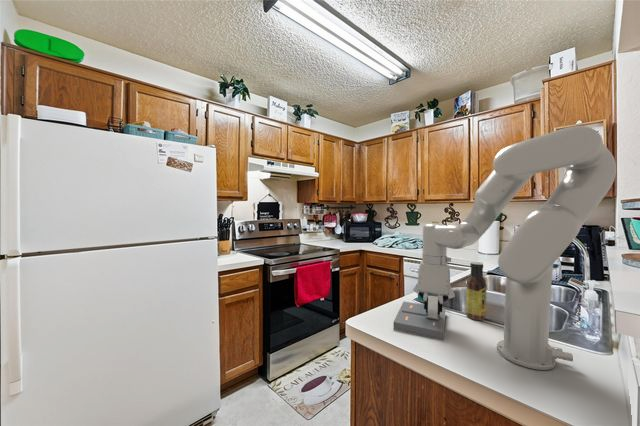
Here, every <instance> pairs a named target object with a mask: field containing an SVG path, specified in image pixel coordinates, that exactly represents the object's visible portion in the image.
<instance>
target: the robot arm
mask: <svg viewBox="0 0 640 426" xmlns="http://www.w3.org/2000/svg"><path fill="white" fill-rule="evenodd" d="M616 164H617V163H616V159H615V157H614V155H613V153H612V152H611V150H609V148H608V147H607V146H606V145H605V144H604V140H603V138H602V135H601V134H600V133H599V132H598V130H596V129H595V128H592V127H590V126H584V125H575V126H568V127H565V128H561V129H557V130H554V131H551V132H548V133H546V134H545V133H544V134H542V135H538V136H536V137H532V138H529V139H526V140H523V141H519V142H516V143H513V144H509V145H508V146H506V147H504V148H502V149H500V150H499V151H498V152H497V153H496V155H495V156H494V158H493V161H492V167H493V170H492V171H491V173H490V174H489V175H488V176H487V178H485V180H484V181H483V182H482V183H481V185H480V186H479V188H477V190H476V191H475V193H474V202H473V205H472V208H471V210H469V213H468V214H467V215H466V217H464V219H463V220H462V221H461V222H460V223H458V224H452V225H451V224H450V225H445V224H443V223H437V222H436V223H433V222H431V223H425V224H424V225H423V227H422V256H421V258H422V259H421V261H420V262H419V265H420V266H419V265H418V269H419V273H418V272H417V283H416V284H415V285H414V287H413V289H412V291H413V292H414V293H415V294H417V295H418V294H419V295H420V296H421V297H422V299H423V300H424V303H423V305H424V309H426V313H428V293H433V294H438V315H440V312H442V308H443V303H445V302H446V301H448V300H449V299H452V298H453V299H454V298H455V297H456V294H455V292H454V290H453V289H452V287H451V272H450V271H451V270H450V265H449V264H448V263H449V262H450V263H452V257H449V256H448V255H447V251H448V250H447V249H453V250H460V249H463V248H466V247H469V246H473V245H475V243H477V241H479V239H481V238H482V236H483V235H484V234H486V232H487V231H488V230H489V229H490V227H491V226H492V225H493V223H494V222H495V221H496V220H497V218H498V217H499V215H501V213H502V212H503V210H504V209H505V208H506V206H507V205H508V204H509V203H510V201H512V199H514V197H515V196H516V195H517V194H518V193H519V192H520V191H521V189H522V188H523V187H524V186H525V185H526V184H527V183H528V182H529V181H530V180H531V179H532V178H533V176H534V175H535V174H538V173H544V172H548V171H553V170H557V169H561V168H565V174H564V176H563V178H562V180H561V181H560V182H559V183H558V184H557V186H556V187H555V189H554V190H553V192H552V193H551V195H550V196H549V198H548V199H547V200H546V201H545V202H544V204H543V205H542V206H541V207H539V208H536V209H535V210H532V211H531V212H530V213H529V214H528V215H526V217H525V218H524V220H523V221H521V223H520V225H519V226H518V227H517V229H516V230H515V231H514V233H513V234H512V236H511V237H510V239H509V240H508V241H507V242H506V244H505V245H504V247H503V249H502V250H501V252H499V253H500V254H499V256H498V261H497V263H498V269H499V270H500V272H501V273H502V275H503V276H504V277H505V278H506V279H505V292H504V293H505V295H504V320H503V321H504V322H503V325H504V326H503V340H500V341H498V342H497V343H496V351H498V353H499V354H500V356H502V357H503V358H505V359H507V360H508V361H509V362H512V363H514V364H516V365H519V366H522V367H525V368H529V369H532V370H540V371H549V370H552V369H554V368H555V367H556V364H557V363H556V360H557V359H559V360H560V359H561V360H563V361H568V362H573V361H574V356H573V354H572V353H571V352H566V351H563V348H561V347H556V346H555V347H554V346H552V345H550V343H549V338H550V337H549V336H550V335H549V333H550V315H551V314H550V309H551V308H550V307H551V294H552V293H551V292H552V280H553V272H554V264H555V262H556V261H558V259H559V257H561V255H562V254H563V253H564V252H565V250H566V249H567V248H568V247H569V246H570V244H571V243H573V241H574V239H575V238H576V237H577V236H578V234H580V233H579V232H580V230H581V228H582V226H583V225H584V223H586V221H587V220H588V218H589V217H590V216H591V215H592V213H593V212H594V211H595V210H596V208H597V207H598V206H599V204H600V203H601V202H602V200H603V199H604V198H605V197H606V195H607V193H608V192H609V191H610V189H611V187H612V186H613V183H614V182H615V180H616V175H617V165H616ZM423 292H424V293H423Z"/></svg>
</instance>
